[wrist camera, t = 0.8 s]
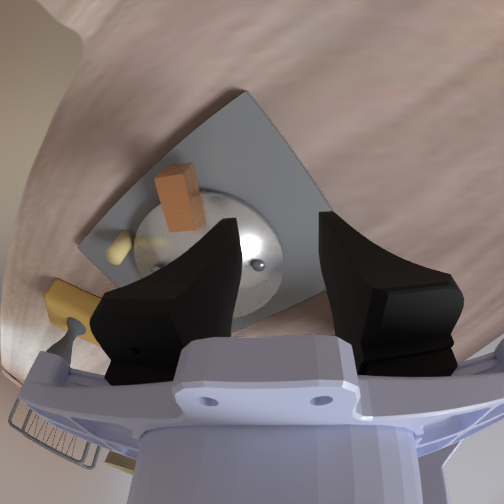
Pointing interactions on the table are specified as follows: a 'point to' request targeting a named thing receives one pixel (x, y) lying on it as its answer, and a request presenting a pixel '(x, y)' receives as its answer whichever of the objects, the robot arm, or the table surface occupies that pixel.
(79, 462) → the newton's cradle
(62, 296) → the rubber stamp
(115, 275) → the base board
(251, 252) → the flange plate
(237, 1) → the table surface
